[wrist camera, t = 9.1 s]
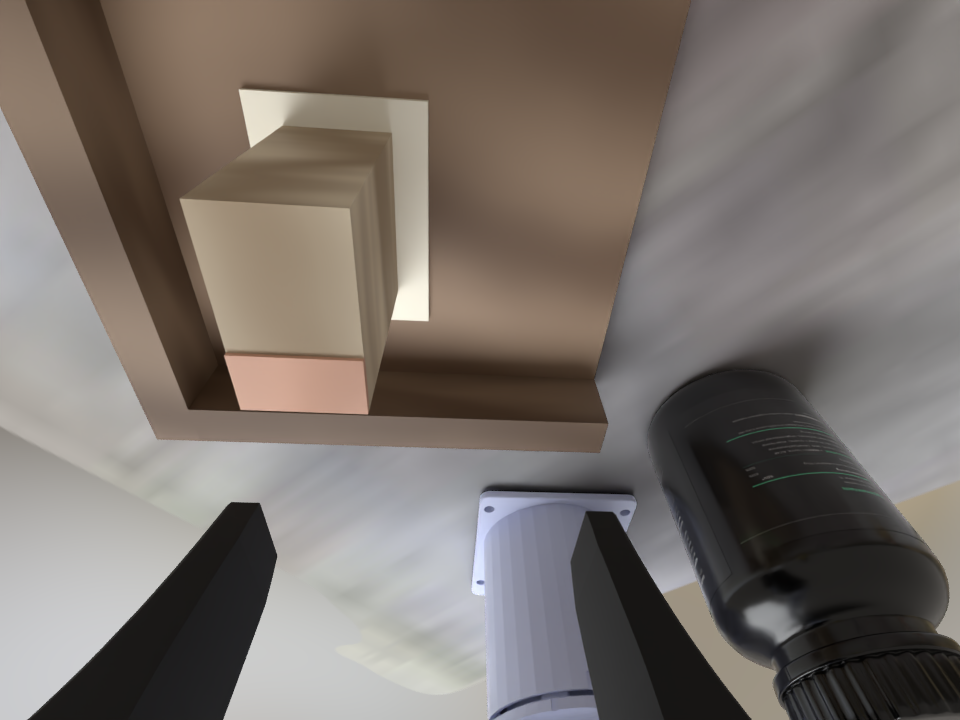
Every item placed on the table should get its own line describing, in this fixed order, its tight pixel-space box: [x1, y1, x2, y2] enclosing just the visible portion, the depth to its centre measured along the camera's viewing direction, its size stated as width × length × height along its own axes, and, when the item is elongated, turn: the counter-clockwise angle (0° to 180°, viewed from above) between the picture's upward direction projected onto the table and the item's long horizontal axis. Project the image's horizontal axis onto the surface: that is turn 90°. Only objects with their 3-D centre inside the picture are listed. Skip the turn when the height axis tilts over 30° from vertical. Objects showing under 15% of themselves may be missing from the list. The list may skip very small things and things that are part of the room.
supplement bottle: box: [647, 370, 960, 720], centre depth 18 cm, size 7×7×12 cm
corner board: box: [0, 0, 691, 453], centre depth 15 cm, size 15×16×4 cm
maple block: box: [180, 126, 398, 414], centre depth 13 cm, size 3×5×6 cm, turn 176°
